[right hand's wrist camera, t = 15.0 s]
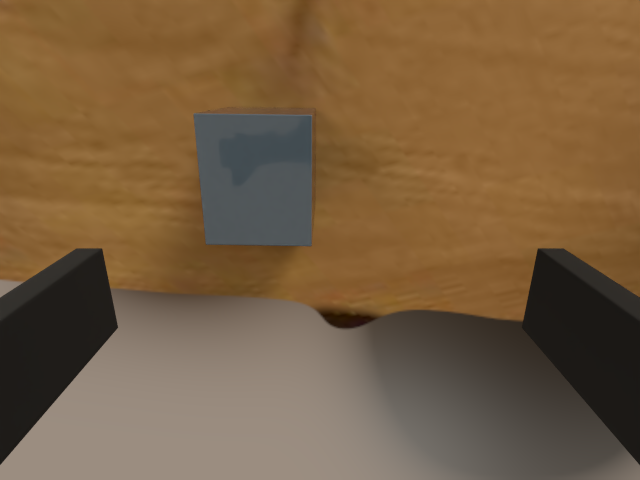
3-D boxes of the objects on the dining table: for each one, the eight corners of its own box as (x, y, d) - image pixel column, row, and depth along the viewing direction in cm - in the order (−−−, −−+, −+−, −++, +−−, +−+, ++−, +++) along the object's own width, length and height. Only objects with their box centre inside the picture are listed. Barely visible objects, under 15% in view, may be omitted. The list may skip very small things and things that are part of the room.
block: (314, 208, 30) (311, 246, 23) (234, 207, 30) (205, 244, 23) (315, 108, 27) (312, 115, 20) (227, 107, 27) (193, 113, 20)
